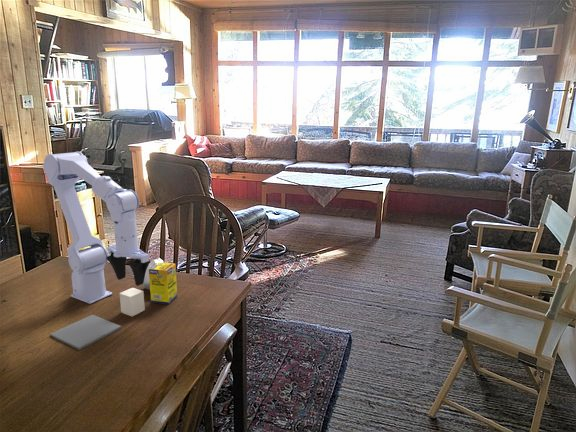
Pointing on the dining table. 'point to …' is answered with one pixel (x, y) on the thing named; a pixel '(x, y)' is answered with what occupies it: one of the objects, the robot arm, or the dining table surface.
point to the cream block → (132, 301)
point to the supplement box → (163, 282)
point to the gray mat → (85, 331)
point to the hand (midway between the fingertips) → (130, 281)
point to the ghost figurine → (146, 278)
